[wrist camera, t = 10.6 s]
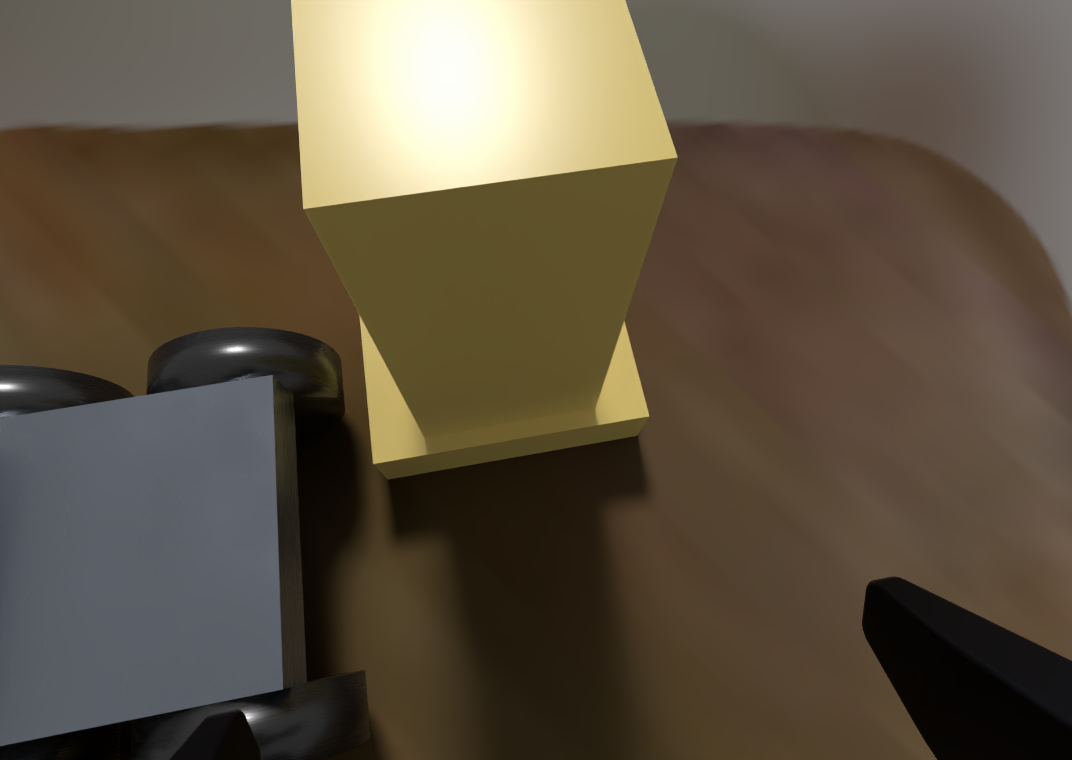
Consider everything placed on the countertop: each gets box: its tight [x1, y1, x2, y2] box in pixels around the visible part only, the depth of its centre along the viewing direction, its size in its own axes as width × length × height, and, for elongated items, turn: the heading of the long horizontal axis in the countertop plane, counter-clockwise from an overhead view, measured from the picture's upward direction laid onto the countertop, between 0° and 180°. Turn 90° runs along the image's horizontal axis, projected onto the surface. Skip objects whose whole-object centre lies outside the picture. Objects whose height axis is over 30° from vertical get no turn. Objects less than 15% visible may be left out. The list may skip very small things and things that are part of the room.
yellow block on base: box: [291, 0, 678, 479], centre depth 15 cm, size 5×8×12 cm, turn 100°
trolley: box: [0, 327, 370, 760], centre depth 14 cm, size 10×11×8 cm
